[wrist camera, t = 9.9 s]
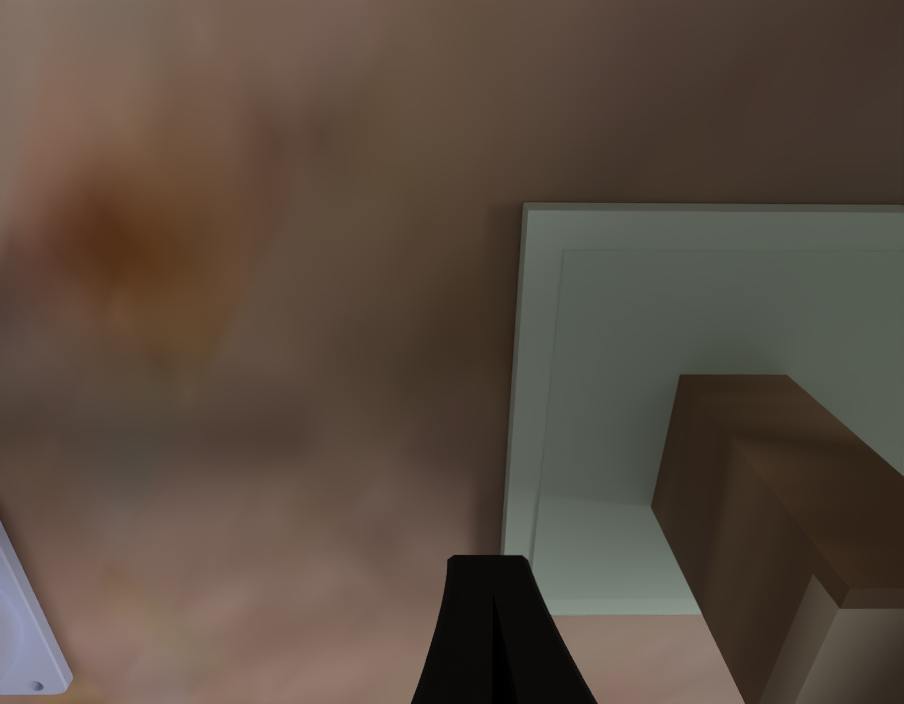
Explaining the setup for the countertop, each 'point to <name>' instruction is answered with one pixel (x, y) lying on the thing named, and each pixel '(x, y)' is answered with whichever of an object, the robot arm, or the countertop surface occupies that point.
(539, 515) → the tray
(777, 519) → the walnut block
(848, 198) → the countertop surface
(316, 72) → the countertop surface
